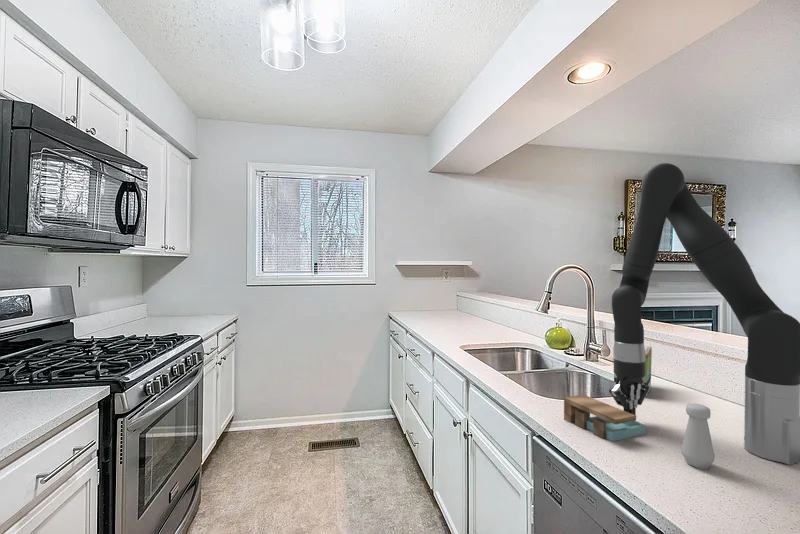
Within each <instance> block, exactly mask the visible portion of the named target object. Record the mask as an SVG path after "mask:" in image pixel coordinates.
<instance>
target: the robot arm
mask: <svg viewBox="0 0 800 534" xmlns="http://www.w3.org/2000/svg"><path fill="white" fill-rule="evenodd" d="M640 185H641V192H640V193H641V195H640V203H639V209H638V214H637V219H636V222H635V225H634V229H633V231H632V234H631V237H630V240H629V243H628V248H627V250H626V254H625V257H624V259H623V260H624V261H623V264H622V268H621V269H622V270H621V271H622V277H621V281H620V283H619V286H618V288H616V289H615V290H614V291H613V293H612V296H611V308H612V309H611V310H612V316H613V321H614V329H613V332H614V333H613V335H614V336H613V337H614V339H613V340H614V341H613V351H612V352H613V357H612V358H613V373H615V374H616V376H617V379H616V386H615V387H614V386H613V388H611V387H609V390H608V393H610V395H611V396H612V398H613V399H614V401H615V403H616V404H617V405H618V406H621V407H622V408H623V411H626V412H629V413H631V414H634V415H636V414H637V413H636V412H637V411H636V409H637V408H638V406H642V405H643V402H644V401H645V399H646V398H645V396H646V394H647V392H648V390H649V391H650V389H649V386H647V385H645V384H644V383H643V379H642V378H644V377H645V347H644V346H645V333H644V332H645V331H644V324H643V322H642V306H643V305H644V303H645V301H646V298H647V293H648V289H649V284H650V279H651V276H652V273H653V270H654V267H655V264H656V262H657V261H656V260H657V258H658V254H659V250H660V246H661V245H660V244H661V241H662V236H663V230H664V227H665V223H666V219H667V220H668V222H669V223H670V225H671V226H672V228H673V230H674V232H675V234H676V236H677V238H678V240H679V241H680V243H681V245H682V247H683V248H684V250H685V251H686V253H687V255H688V256H689V257H690V259H691V260H692V262H693V263H694V264H695V266H696V267H697V268H698V270H699V271H700V273H702V275H703V277H705V279H706V280H707V281H708V282H709V283H710V284H711V286H713V287H714V288H715V290H717V291H718V293H719V294H721V296H722V297H723V298H724V300H725V301H726V302H727V303H728V305H729V307H730V308H731V310H732V312H733V313H734V315H735V317H736V319H737V321H738V322H739V324H740V325H741V327H742V330H743V332H744V334H745V335H746V337H747V359H746V363H745V365H744V424H743V425H744V429H743V430H744V435H743V440H744V441H743V442H744V443H743V445H744V448H745V450H746V451H747V452H749V453H751V454H753V455H755V456H757V457H760V458H763V459H766V460H770V461H773V462H778V463H782V464H785V465H788V466H789V465H794V464H797V463H800V322H799V321H798V319H796V318H795V317H793V316H792V315H790V314H788V313H786V312H784V311H783V310H782V309H781V308H780V307H779V306H778V305H777V304H776V303H775V302H774V301H773V300H772V299H771V297H770V296H769V295H768V294H767V293H766V292H765V291H764V290H763V288H762V286H761V285H760V284H759V282H758V280H757V277H756V276H755V273H754V272H753V269H752V268H751V265H750V263H749V262H748V260H747V258H746V256H745V255H744V253H743V252H742V250H741V248H740V247H739V245H737V243H736V242H735V240H734V239H733V238H732V237H731V236H730V234H729V233H728V232H727V231H726V229H724V228H723V226H721V225H720V224H719V222H717V221H716V220H715V218H713V217H712V216H711V215H709V214H708V213H707V212H706V211H705V210H704V209H703V208H702V206H700V204H699V203H698V202H697V201H696V199H695V198H694V196H693V194H692V192H691V191H690V189H689V187H688V185H687V183H686V182H685V175H684V173H683V171H682V169H680V168H679V167H678V166H677V165H675V164H673V163H670V162H669V163H667V162H662V163H658V164H655V165H653V166H651V167H650V168H649V169H648V170H647V171H646V172H645V173H644V174H643V177H642V179H641V184H640ZM648 393H649V392H648ZM647 395H648V394H647ZM646 397H647V396H646ZM636 416H637V415H636Z"/></svg>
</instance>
